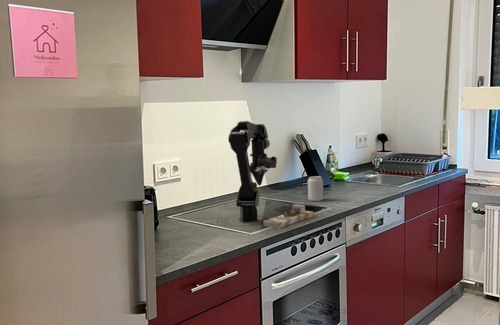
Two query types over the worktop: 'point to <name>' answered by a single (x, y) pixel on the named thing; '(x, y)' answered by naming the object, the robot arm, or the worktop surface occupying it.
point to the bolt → (289, 210)
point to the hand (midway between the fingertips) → (259, 185)
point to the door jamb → (287, 219)
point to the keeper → (301, 208)
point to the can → (315, 188)
